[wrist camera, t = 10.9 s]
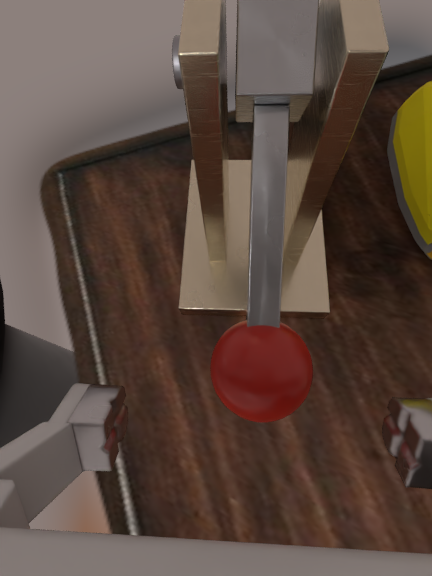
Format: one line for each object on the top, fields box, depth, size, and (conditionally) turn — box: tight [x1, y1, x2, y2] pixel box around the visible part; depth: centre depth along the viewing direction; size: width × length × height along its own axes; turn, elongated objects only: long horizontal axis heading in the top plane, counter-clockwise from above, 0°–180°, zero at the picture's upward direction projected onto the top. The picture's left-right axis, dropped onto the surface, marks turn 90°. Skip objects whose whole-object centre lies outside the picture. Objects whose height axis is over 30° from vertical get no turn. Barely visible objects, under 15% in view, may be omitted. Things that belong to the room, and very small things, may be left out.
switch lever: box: [210, 0, 319, 422], centre depth 11 cm, size 13×4×4 cm
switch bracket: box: [172, 0, 389, 319], centre depth 15 cm, size 10×8×13 cm
